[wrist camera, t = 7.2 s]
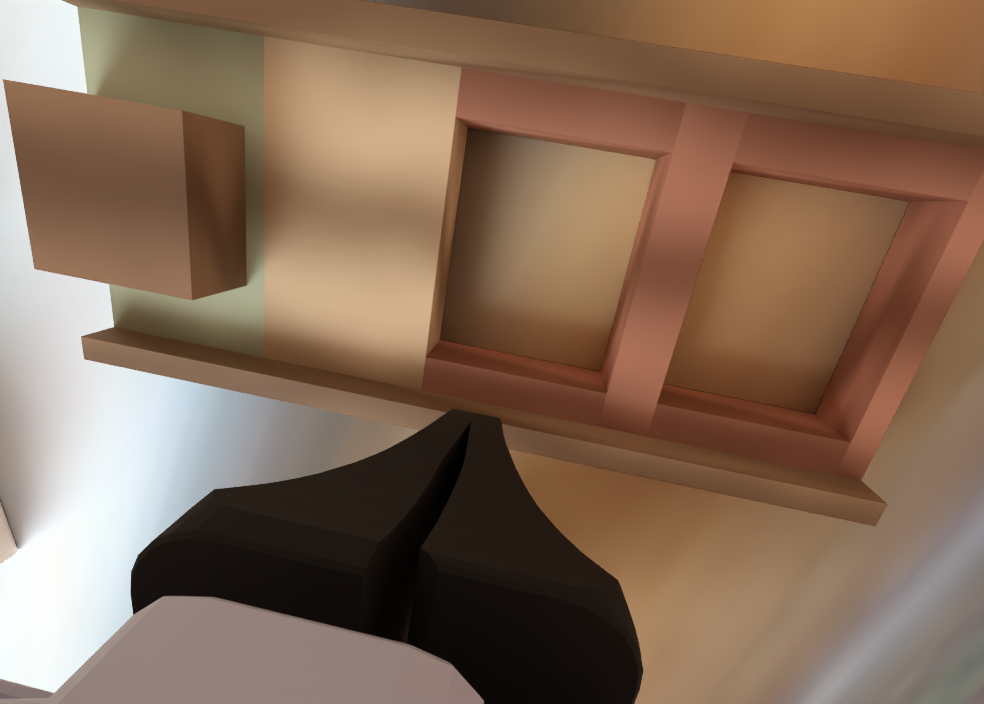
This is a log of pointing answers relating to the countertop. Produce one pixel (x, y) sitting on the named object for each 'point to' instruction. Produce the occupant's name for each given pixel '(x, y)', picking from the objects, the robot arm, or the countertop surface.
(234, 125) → the walnut block
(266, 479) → the countertop surface
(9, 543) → the medicine bottle
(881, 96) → the box
